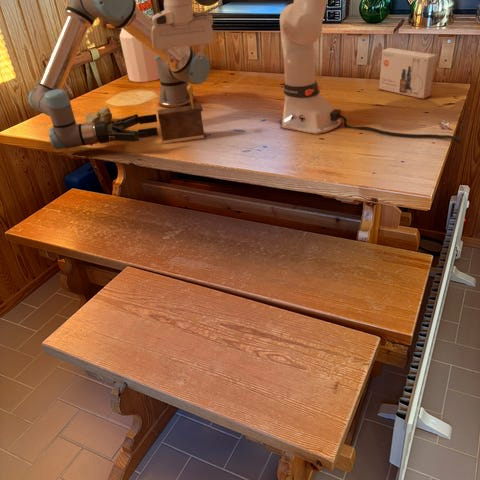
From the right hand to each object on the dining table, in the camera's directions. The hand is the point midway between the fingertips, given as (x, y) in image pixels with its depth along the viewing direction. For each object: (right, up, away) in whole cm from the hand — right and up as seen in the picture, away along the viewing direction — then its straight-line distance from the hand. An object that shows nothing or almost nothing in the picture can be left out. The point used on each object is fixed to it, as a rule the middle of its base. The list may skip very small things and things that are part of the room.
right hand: (185, 60), depth 154 cm
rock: (-40, -11, +37) cm, 55 cm away
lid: (-3, -15, +9) cm, 17 cm away
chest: (-3, -23, +15) cm, 27 cm away
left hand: (-11, -19, +10) cm, 24 cm away
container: (-30, +26, +90) cm, 98 cm away
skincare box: (+85, 0, +35) cm, 92 cm away
